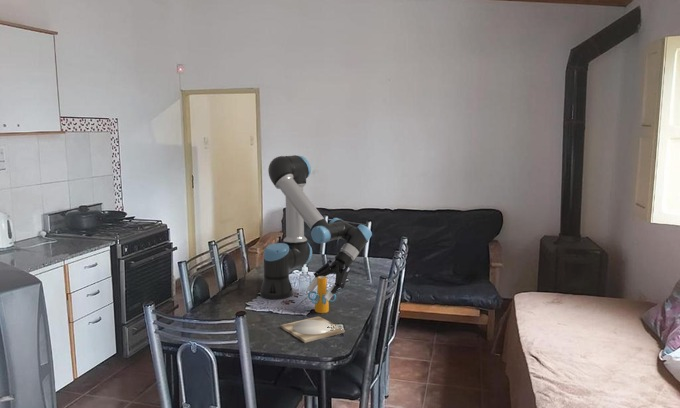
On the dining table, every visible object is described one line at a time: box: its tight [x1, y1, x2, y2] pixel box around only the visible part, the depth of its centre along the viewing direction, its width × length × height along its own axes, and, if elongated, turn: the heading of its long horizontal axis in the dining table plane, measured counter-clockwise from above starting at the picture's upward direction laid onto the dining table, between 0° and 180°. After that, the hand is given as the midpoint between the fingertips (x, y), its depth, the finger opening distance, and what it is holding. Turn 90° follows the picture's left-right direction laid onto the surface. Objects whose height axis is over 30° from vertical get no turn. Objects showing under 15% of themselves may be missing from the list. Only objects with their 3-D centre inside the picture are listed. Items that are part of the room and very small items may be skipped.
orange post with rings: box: [307, 276, 337, 314], centre depth 227 cm, size 12×10×15 cm
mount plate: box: [280, 315, 346, 344], centre depth 206 cm, size 18×18×1 cm
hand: (317, 294), depth 225 cm, fingers open, 13 cm apart
